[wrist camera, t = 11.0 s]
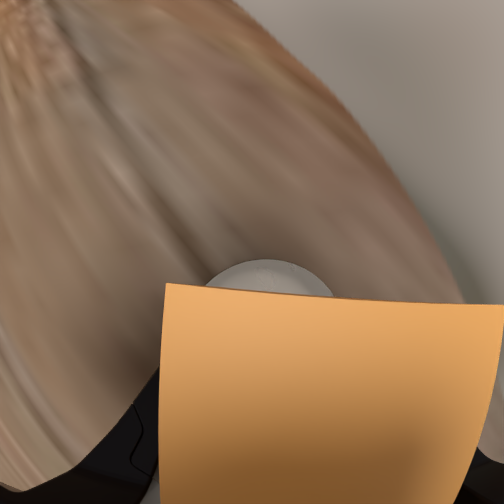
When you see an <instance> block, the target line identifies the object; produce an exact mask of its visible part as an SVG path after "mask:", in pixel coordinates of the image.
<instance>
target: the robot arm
mask: <svg viewBox="0 0 504 504" xmlns="http://www.w3.org/2000/svg"><path fill="white" fill-rule="evenodd" d="M159 380H160V366H159V367H158V368H157V370H156V371H155V373H154V374H153V375H152V377H151V378H150V379H149V381H148V382H147V384H146V385H145V386H144V388H143V389H142V390H141V392H140V393H139V395H138V396H137V397H136V399H135V400H134V401H133V404H134V405H133V404H131V405H130V407H129V408H128V410H127V411H126V412H125V414H124V415H123V416H122V417H121V419H120V420H119V421H118V423H117V424H116V425H115V426H114V427H113V428H112V430H111V431H110V432H109V433H108V434H107V435H106V436H105V437H104V438H103V439H102V440H101V441H100V442H99V444H98V445H97V446H96V447H95V448H94V449H93V450H92V451H91V452H90V453H89V454H88V455H87V456H86V457H85V458H84V459H83V460H82V461H81V462H80V463H79V464H78V465H76V466H75V467H74V468H72V469H71V470H69V471H67V472H66V473H64V474H61V475H59V476H57V477H55V478H53V479H51V480H49V481H47V482H45V483H43V484H40V485H38V486H36V487H34V488H31V489H29V490H26V491H21V490H19V489H16V488H14V487H11V486H9V485H6V484H4V483H2V482H0V504H161V502H160V482H159V435H158V429H159ZM453 504H504V464H503V463H499V462H496V461H493V460H491V459H490V458H488V457H487V456H485V455H484V454H483V453H482V452H481V451H480V450H479V448H478V447H476V450H475V453H474V456H473V458H472V461H471V464H470V466H469V469H468V471H467V474H466V476H465V479H464V481H463V483H462V486H461V488H460V490H459V492H458V494H457V497H456V499H455V501H454V503H453Z"/></svg>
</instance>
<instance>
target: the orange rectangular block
mask: <svg viewBox="0 0 504 504" xmlns="http://www.w3.org/2000/svg"><path fill="white" fill-rule="evenodd" d="M503 325H504V305H482V304H451V303H427V302H407V301H389V300H373V299H357V298H343V297H330V296H317V295H304V294H291V293H279V292H268V291H257V290H246V289H236V288H225V287H214V286H200V285H187V284H174V283H166V291H165V301H164V313H163V326H162V341H161V358H160V380H159V429H158V435H159V482H160V502H161V504H453V503H454V501H455V499H456V497H457V494H458V492H459V490H460V488H461V486H462V483H463V481H464V479H465V476H466V474H467V471H468V469H469V466H470V464H471V461H472V458H473V456H474V453H475V450H476V447H477V444H478V441H479V438H480V435H481V432H482V429H483V425H484V422H485V419H486V415H487V411H488V407H489V404H490V400H491V395H492V391H493V387H494V382H495V377H496V372H497V367H498V361H499V354H500V348H501V341H502V334H503Z"/></svg>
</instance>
